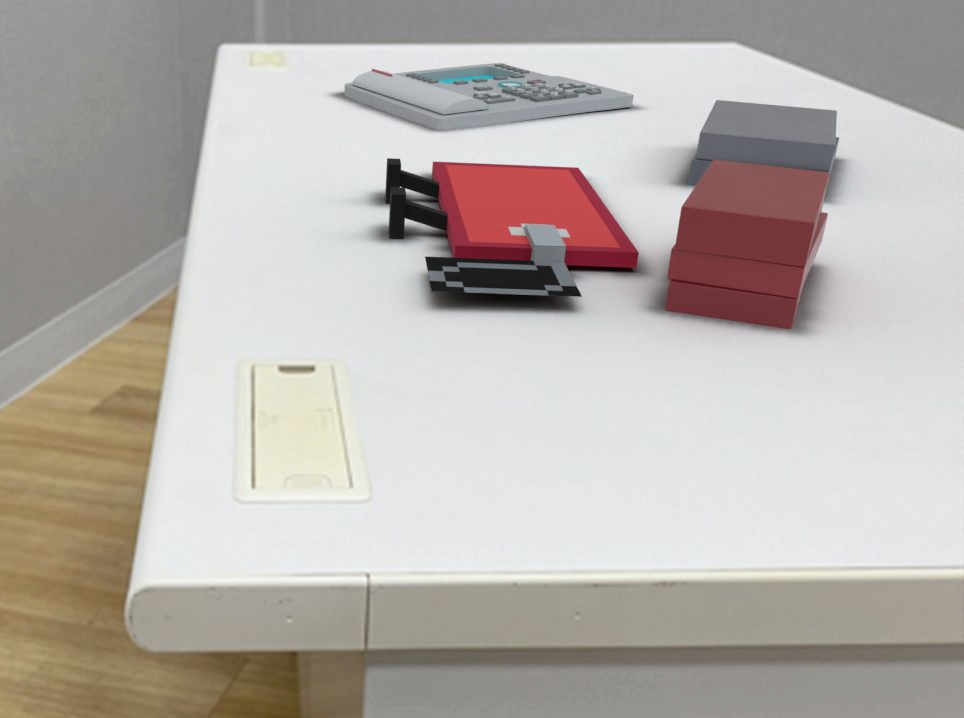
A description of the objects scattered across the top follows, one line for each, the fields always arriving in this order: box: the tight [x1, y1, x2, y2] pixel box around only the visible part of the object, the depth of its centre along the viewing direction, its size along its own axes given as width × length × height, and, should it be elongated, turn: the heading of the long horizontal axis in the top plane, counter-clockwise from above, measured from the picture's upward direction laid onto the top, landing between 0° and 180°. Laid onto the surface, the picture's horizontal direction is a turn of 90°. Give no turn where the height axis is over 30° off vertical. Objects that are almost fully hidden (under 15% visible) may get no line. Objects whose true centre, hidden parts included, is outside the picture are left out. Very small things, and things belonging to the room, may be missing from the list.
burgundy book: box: [674, 160, 831, 267], centre depth 70 cm, size 12×7×2 cm, turn 159°
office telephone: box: [344, 62, 634, 131], centre depth 118 cm, size 23×3×20 cm
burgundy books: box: [664, 211, 829, 330], centre depth 71 cm, size 12×8×4 cm, turn 159°
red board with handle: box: [384, 157, 640, 298], centre depth 80 cm, size 30×3×15 cm
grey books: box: [687, 99, 840, 187], centre depth 96 cm, size 14×10×4 cm
